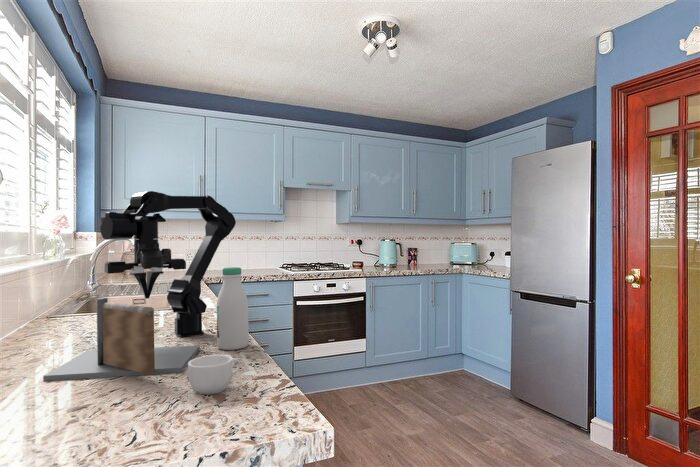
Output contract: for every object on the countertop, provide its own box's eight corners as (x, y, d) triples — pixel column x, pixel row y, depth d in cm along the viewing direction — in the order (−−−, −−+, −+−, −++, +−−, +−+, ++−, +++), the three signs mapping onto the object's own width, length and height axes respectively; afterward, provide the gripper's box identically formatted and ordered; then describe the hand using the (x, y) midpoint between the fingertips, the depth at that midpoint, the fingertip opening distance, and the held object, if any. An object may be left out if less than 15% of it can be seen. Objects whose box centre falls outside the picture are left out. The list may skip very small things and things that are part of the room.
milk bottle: (255, 344, 107) (253, 266, 107) (234, 352, 100) (233, 269, 100) (231, 341, 111) (230, 266, 111) (210, 349, 104) (209, 268, 104)
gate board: (200, 349, 104) (199, 345, 104) (181, 372, 86) (181, 367, 86) (87, 355, 100) (87, 351, 100) (43, 380, 82) (43, 375, 82)
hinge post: (107, 361, 91) (106, 297, 91) (109, 364, 89) (108, 298, 89) (96, 363, 89) (96, 298, 89) (98, 365, 88) (97, 299, 88)
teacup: (201, 402, 70) (201, 370, 70) (180, 391, 75) (179, 361, 75) (251, 385, 78) (251, 356, 78) (229, 376, 83) (228, 349, 83)
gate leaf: (103, 363, 88) (102, 302, 88) (110, 361, 89) (109, 301, 89) (147, 374, 80) (146, 307, 80) (154, 371, 82) (153, 306, 82)
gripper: (111, 239, 98) (112, 306, 98) (192, 238, 109) (192, 297, 109) (103, 239, 106) (104, 300, 106) (179, 238, 118) (180, 293, 118)
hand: (147, 298), depth 110 cm, fingers closed
